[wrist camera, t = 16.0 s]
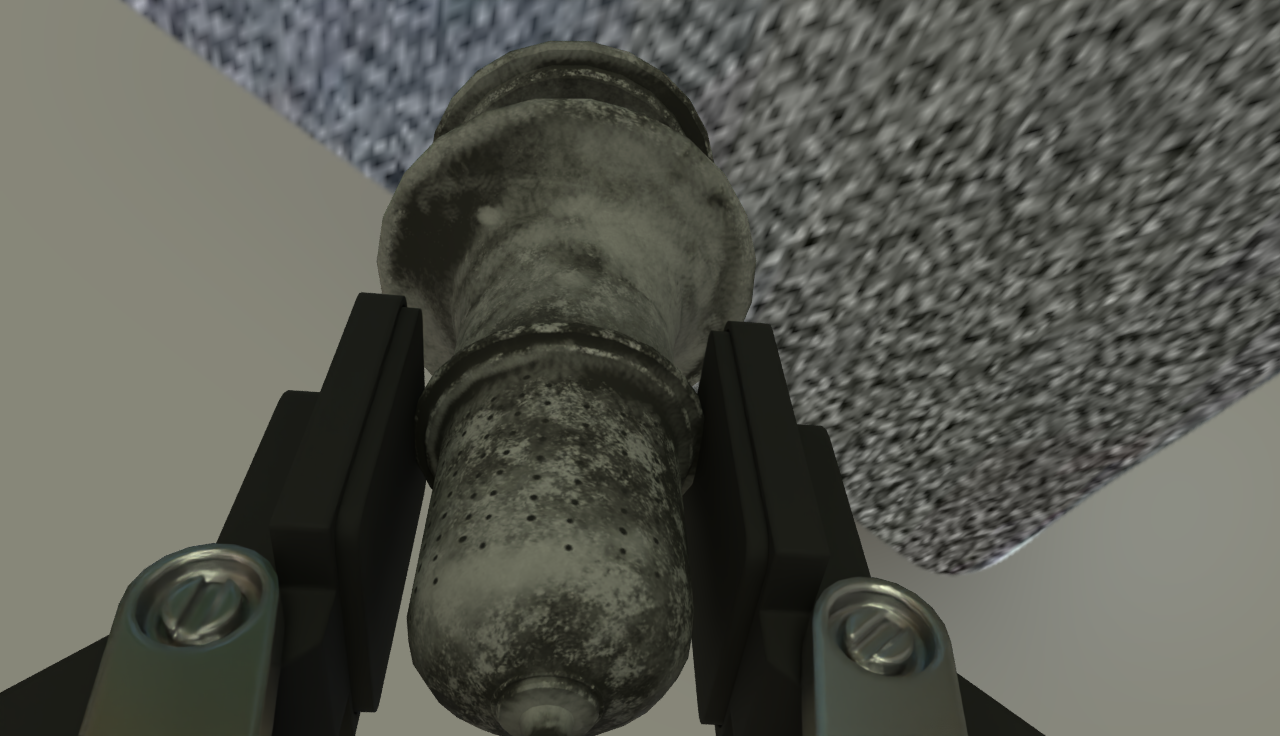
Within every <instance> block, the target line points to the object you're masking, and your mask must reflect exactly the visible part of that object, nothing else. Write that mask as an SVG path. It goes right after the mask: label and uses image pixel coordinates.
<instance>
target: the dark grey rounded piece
mask: <svg viewBox="0 0 1280 736" xmlns="http://www.w3.org/2000/svg"><path fill="white" fill-rule="evenodd" d="M377 265H378V272H379V277H380V283H381V289H382V294H389V295H402V296H405V297H406V300H407V307H410V308H421V310H422V315H423V344H424V367H425V368H426V369H427V370H428V371H429V372H430V374H431V375H433V376H432V377H431V379H430V381H429V383H428V384H427V386H426V387H425V389H424V391H423V392H422V394H421V396H420V397H419V399H418V403H417V408H416V413H415V450H416V462H417V464H418V465H419V467H420V469H421V471H422V473H423V475H424V477H425V478H426V480H427V482H428V484H429V486H430V487H431V489H432V495H431V500H430V505H429V509H428V514H427V519H426V524H425V529H424V535H423V539H422V544H421V549H420V554H419V559H418V564H417V569H416V574H415V579H414V584H413V589H412V594H411V598H410V603H409V609H408V613H407V627H408V641H409V647H410V652H411V656H412V662H413V665H414V666H415V668H416V669H417V671H418V672H419V674H420V675H421V677H422V678H423V680H424V681H425V683H426V685H427V686H428V687H429V689H430V690H431V692H432V693H433V695H434V696H435V698H436V699H437V700H438V702H439V703H440V704H441V705H443V706H444V707H445V708H446V709H447V710H449V711H450V712H451V713H452V714H454V715H455V716H456V717H458V718H459V719H462V720H464V721H465V722H468V723H469V724H472V725H474V726H475V727H478V728H480V729H482V730H485V731H487V732H490V733H493V734H496V735H499V736H595V735H598V734H601V733H604V732H607V731H610V730H613V729H616V728H619V727H622V726H624V725H626V724H628V723H630V722H631V721H633V720H635V719H636V718H638V717H640V716H641V715H643V714H645V713H647V712H648V711H649V710H650V709H651V708H652V707H653V706H654V705H655V704H656V703H657V702H658V701H659V700H660V699H661V698H662V697H663V696H664V695H665V693H666V692H667V691H668V690H669V688H670V687H671V686H672V685H673V683H674V682H675V681H676V680H677V678H678V676H679V675H680V672H681V671H682V669H683V667H684V665H685V663H686V661H687V659H688V656H689V650H690V643H691V638H692V629H693V617H694V606H693V596H692V587H691V577H690V567H689V557H688V547H687V537H686V527H685V517H684V507H683V498H682V496H683V494H684V493H685V492H686V491H687V490H688V489H689V488H690V486H691V485H692V484H693V480H694V476H695V471H696V467H697V462H698V457H699V452H700V447H701V442H702V437H703V432H704V424H705V419H704V415H703V411H702V407H701V404H700V400H699V396H698V395H697V393H696V392H695V390H694V389H693V388H692V386H693V385H695V384H696V383H697V382H699V381H700V377H701V372H702V367H703V362H704V356H705V351H706V346H707V341H708V336H709V333H710V331H711V330H713V331H724V327H725V325H726V322H727V321H739V322H744V319H745V317H746V315H747V312H748V310H749V308H750V305H751V303H752V295H753V285H754V276H755V266H756V258H755V253H754V248H753V243H752V238H751V233H750V228H749V223H748V218H747V214H746V213H745V211H744V209H743V207H742V205H741V203H740V201H739V200H738V198H737V196H736V194H735V192H734V190H733V189H732V187H731V185H730V183H729V181H728V179H727V178H726V176H725V174H724V173H723V172H722V171H721V170H720V169H719V168H718V167H717V166H716V165H715V164H714V161H713V157H712V152H711V147H710V143H709V138H708V134H707V131H706V129H705V127H704V125H703V123H702V121H701V120H700V118H699V116H698V114H697V112H696V110H695V108H694V107H693V105H692V103H691V101H690V99H689V98H688V97H687V96H686V95H685V94H684V93H683V92H682V91H681V90H680V89H679V88H678V87H677V86H676V85H675V84H674V83H673V82H672V81H671V80H670V79H669V78H668V77H667V76H666V75H665V74H664V73H663V72H662V71H660V70H659V69H657V68H655V67H653V66H652V65H650V64H648V63H647V62H645V61H643V60H642V59H640V58H638V57H636V56H635V55H633V54H631V53H630V52H627V51H623V50H620V49H616V48H612V47H609V46H605V45H601V44H598V43H594V42H591V41H548V42H544V43H540V44H536V45H533V46H529V47H525V48H521V49H518V50H514V51H510V52H509V53H507V54H505V55H504V56H502V57H500V58H499V59H497V60H495V61H494V62H492V63H490V64H488V65H487V66H485V67H483V68H482V69H480V70H478V71H477V72H476V73H475V74H474V75H473V76H472V77H471V78H470V79H469V80H468V82H467V83H466V84H465V85H464V86H463V87H462V88H461V89H460V90H459V91H458V92H457V93H456V94H455V95H454V96H453V98H452V99H451V101H450V103H449V105H448V107H447V109H446V111H445V113H444V115H443V117H442V119H441V121H440V123H439V125H438V127H437V129H436V131H435V134H434V140H433V144H432V145H431V146H430V147H429V148H428V149H427V150H426V151H425V152H424V153H423V154H422V155H421V156H420V157H419V158H418V159H417V161H416V162H415V163H414V164H413V165H412V166H411V167H410V168H409V169H408V170H407V171H406V172H405V173H404V175H403V177H402V179H401V181H400V183H399V185H398V187H397V189H396V191H395V193H394V195H393V197H392V200H391V202H390V204H389V206H388V208H387V210H386V212H385V214H384V216H383V220H382V228H381V235H380V243H379V249H378V256H377Z"/></svg>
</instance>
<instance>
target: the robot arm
mask: <svg viewBox="0 0 1280 736" xmlns="http://www.w3.org/2000/svg"><path fill="white" fill-rule="evenodd" d="M424 389H425V382H424V344H423V315H422V310H421V308H410V307H407V300H406V297H405V296H402V295H389V294H376V293H363V292H362V293H359V295H358V296H357V299H356V301H355V304H354V306H353V309H352V311H351V314H350V316H349V319H348V322H347V324H346V327H345V329H344V332H343V335H342V337H341V340H340V342H339V345H338V347H337V350H336V353H335V355H334V358H333V360H332V363H331V366H330V368H329V371H328V373H327V376H326V379H325V381H324V383H323V386H322V389H321V391H320V392H308V391H293V390H288V391H286V392H285V393H284V394H283V395H282V396H281V398H280V400H279V402H278V404H277V406H276V408H275V411H274V413H273V415H272V417H271V420H270V422H269V425H268V427H267V429H266V431H265V434H264V436H263V438H262V440H261V442H260V445H259V447H258V449H257V452H256V454H255V456H254V458H253V461H252V463H251V465H250V468H249V470H248V472H247V474H246V477H245V479H244V481H243V484H242V486H241V488H240V491H239V493H238V495H237V497H236V499H235V502H234V504H233V506H232V509H231V511H230V513H229V515H228V517H227V520H226V522H225V524H224V527H223V529H222V531H221V533H220V536H219V538H218V540H217V542H216V543H211V544H205V545H198V546H192V547H188V548H185V549H183V550H180V551H177V552H175V553H172V554H169V555H166V556H164V557H163V558H161V559H160V560H158V561H156V562H155V563H153V564H152V565H150V566H149V567H147V568H146V569H144V570H143V571H142V572H141V573H140V574H139V575H138V576H137V577H136V579H134V581H132V582H131V584H130V585H129V586H128V587H127V589H126V591H125V593H124V595H123V597H122V599H121V601H120V603H119V605H118V609H117V612H116V615H115V618H114V621H113V625H112V628H111V631H110V634H109V635H108V636H106V637H104V638H102V639H100V640H98V641H96V642H95V643H93V644H91V645H89V646H87V647H85V648H83V649H81V650H79V651H78V652H76V653H74V654H72V655H70V656H68V657H67V658H64V659H63V660H61V661H59V662H57V663H55V664H53V665H51V666H49V667H48V668H46V669H44V670H42V671H40V672H38V673H36V674H34V675H32V676H31V677H29V678H27V679H25V680H23V681H21V682H19V683H17V684H16V685H14V686H12V687H10V688H8V689H6V690H4V691H3V692H1V693H0V736H355V734H356V729H357V725H358V720H359V716H360V712H376V711H377V709H378V706H379V702H380V698H381V693H382V688H383V683H384V678H385V674H386V669H387V664H388V660H389V655H390V650H391V646H392V641H393V637H394V632H395V627H396V622H397V618H398V613H399V609H400V604H401V599H402V594H403V590H404V585H405V581H406V576H407V571H408V566H409V562H410V557H411V552H412V548H413V543H414V538H415V534H416V529H417V525H418V520H419V515H420V511H421V506H422V501H423V497H424V491H425V485H426V478H425V477H424V475H423V473H422V471H421V469H420V467H419V465H418V464H417V462H416V450H415V413H416V408H417V403H418V399H419V397H420V396H421V394H422V392H423V391H424ZM697 395H698V396H699V400H700V404H701V407H702V411H703V415H704V419H705V424H704V432H703V437H702V442H701V447H700V452H699V457H698V462H697V467H696V471H695V476H694V480H693V484H692V485H691V486H690V488H689V489H688V490H687V491H686V492H685V493H684V494H683V496H682V498H683V507H684V517H685V527H686V537H687V547H688V557H689V567H690V577H691V587H692V596H693V606H694V617H693V629H692V648H693V659H694V670H695V679H696V680H695V681H696V692H697V703H698V713H699V719H700V722H701V724H711V725H715V731H716V736H1045V735H1044V734H1042V733H1041V732H1039V731H1038V730H1037V729H1035V728H1034V727H1032V726H1031V725H1030V724H1028V723H1027V722H1025V721H1024V720H1023V719H1021V718H1020V717H1018V716H1017V715H1015V714H1014V713H1013V712H1011V711H1009V710H1008V709H1007V708H1005V707H1004V706H1003V705H1001V704H1000V703H999V702H997V701H996V700H994V699H993V698H992V697H990V696H989V695H987V694H986V693H984V692H983V691H982V690H980V689H979V688H977V687H976V686H975V685H973V684H972V683H970V682H969V681H968V680H966V679H965V678H963V677H962V676H961V675H959V674H958V673H957V672H956V667H955V661H954V656H953V650H952V645H951V641H950V638H949V635H948V632H947V630H946V627H945V624H944V623H943V622H942V620H941V619H940V617H939V616H938V615H937V613H936V612H935V611H934V609H933V608H932V607H931V606H930V605H929V604H927V603H926V602H925V601H924V600H923V599H921V598H920V597H919V596H918V595H917V594H915V593H913V592H912V591H910V590H908V589H906V588H904V587H902V586H900V585H899V584H897V583H893V582H890V581H886V580H883V579H879V578H874V577H871V576H870V573H869V569H868V566H867V562H866V559H865V556H864V552H863V549H862V545H861V542H860V539H859V535H858V532H857V529H856V525H855V522H854V518H853V515H852V512H851V508H850V505H849V501H848V498H847V495H846V491H845V488H844V485H843V481H842V478H841V474H840V471H839V468H838V464H837V461H836V457H835V454H834V451H833V447H832V444H831V441H830V437H829V435H828V433H827V430H826V429H825V428H824V427H822V426H815V425H800V424H797V423H796V419H795V415H794V411H793V408H792V404H791V400H790V396H789V392H788V388H787V384H786V380H785V377H784V373H783V369H782V365H781V361H780V357H779V353H778V349H777V345H776V342H775V338H774V334H773V330H772V327H771V325H770V324H765V323H752V322H739V321H727V322H726V325H725V327H724V331H713V330H711V331H710V333H709V336H708V341H707V346H706V351H705V356H704V362H703V367H702V372H701V377H700V383H699V388H698V393H697Z"/></svg>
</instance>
